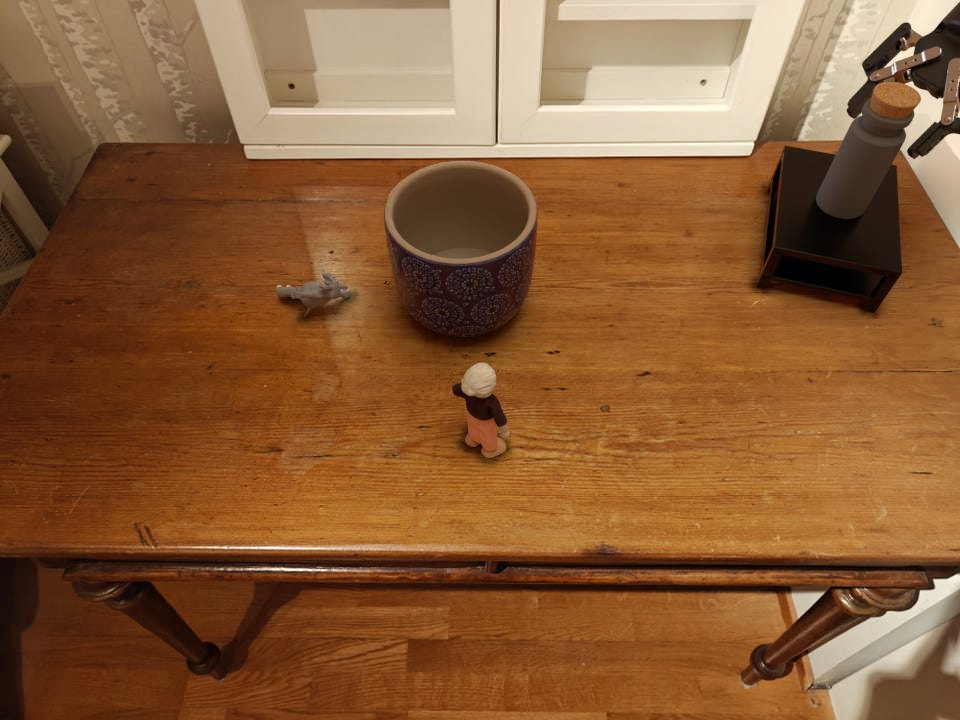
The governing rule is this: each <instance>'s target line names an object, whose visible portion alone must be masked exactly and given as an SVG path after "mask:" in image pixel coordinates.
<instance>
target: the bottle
mask: <svg viewBox="0 0 960 720" xmlns="http://www.w3.org/2000/svg"><path fill="white" fill-rule="evenodd" d="M921 101H922V96H921V94H920V93H919V92H918V90H917V89H915V88H914V87H912V86H910V85H909V84H907V83H906V84H903V83H899V82H883V83H880V84H878V85H876V86H875V88H874V90H873V94H872V98H870V99H868V100H867V101H866V102H865V104H864V106H863V108H862V113H861V115H859V116H858V117H857V118H855V119H853V120H852V121H851V123H850V125H849V127H848V129H847V131H846V132H845V135H844V137H843V138H842V141H841V143H840V145H839V147H838V149H837V151H836V153H835V158H834V160H833V162H832V164H831V166H830V168H829V170H828V172H827V174H826V176H825V178H824V180H823V182H822V185H821V187H820V189H819V191H818V193H817V196H816V202H817V205H818V206H819V207H820V209H821V210H822V211H824V212H825V213H827V214H829V215H831V216H833V217H836V218H840V219H854V218H857V217H859V216H861V215H862V214H863V213H864V211H865V210H866V208H867V206H868V205H869V203H870V201H871V200H872V198H873V196H874V194H875V193H876V191H877V189H878V187H879V186H880V184H881V182H882V180H883V179H884V177H885V175H886V173H887V172H888V170H889V168H890V166H891V165H893V163H894V161H895V159H896V157H897V156H898V154H899V152H900V150H901V148H902V147H903V145H904V143H905V141H906V140H907V139H906V138H907V133H906V130H905V129H906V128H908V127H909V126H910V125H911V124H912V122H913V121H914V119H915V109H916V108H917V107H918V105H920V103H921Z"/></svg>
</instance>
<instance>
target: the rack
mask: <svg viewBox="0 0 960 720" xmlns="http://www.w3.org/2000/svg"><path fill="white" fill-rule="evenodd" d="M835 155H836V153H829V152H824V151H818V150H813V149H807V148H800V147H795V146H789V145H784V146H783V149H782V151H781V153H780V156H779V158H778V161H777V163H776V166H775V168H774V171H773V173H772V176H771V178H770V181H769V183H768V185H767V190H766V193H767V194H768V193H769V198H768V205H767V215H766V222H765V233H764V234H765V235H764V240H763V241H764V242H763V250H762V257H761V259H762V260H761V268H760V273H759V275H758V278H757V280H756V286H755V287H756V288H757V289H762V290H767V288H768V286H769V284H770V282H773V283H779V284H783V285H788V286H793V287H798V288H802V289H807V290H811V291H816V292H821V293H825V294H831V295H835V296H840V297H844V298H849V299H853V300H857V301H864V302H865V303H864V312H868V313H873V314H875V313H876V312H877V310H878V309H879V307H880V306H881V305H882V304H883V302H884V300H885V299H886V297H887V296H888V295H889V293H890V292H891V290H892V289H893V287H894V286H895V284H896V283H897V281H898V280H899V279H900V277H901V276H902V274H903V262H902V261H903V259H902V241H901V225H900V224H901V223H900V220H901V219H900V203H899V185H898V184H899V183H898V165H896V164H892V165H891V166H890V168H889V170H888V172H887V173H886V175H885V177H884V179H883V180H882V182H881V184H880V186H879V187H878V189H877V191H876V193H875V194H874V196H873V198H872V200H871V201H870V203H869V205H868V206H867V208H866V210H865V211H864V213H863V214H862V215H861V216H859V217H857V218H854V219H840V218H836V217H833V216H831V215H829V214H827V213H825V212H824V211H822V210H821V209H820V207H819V206H818V205H817V202H816V196H817V193H818V191H819V189H820V187H821V185H822V182H823V180H824V178H825V176H826V174H827V172H828V170H829V168H830V166H831V164H832V162H833V160H834V158H835Z"/></svg>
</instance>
